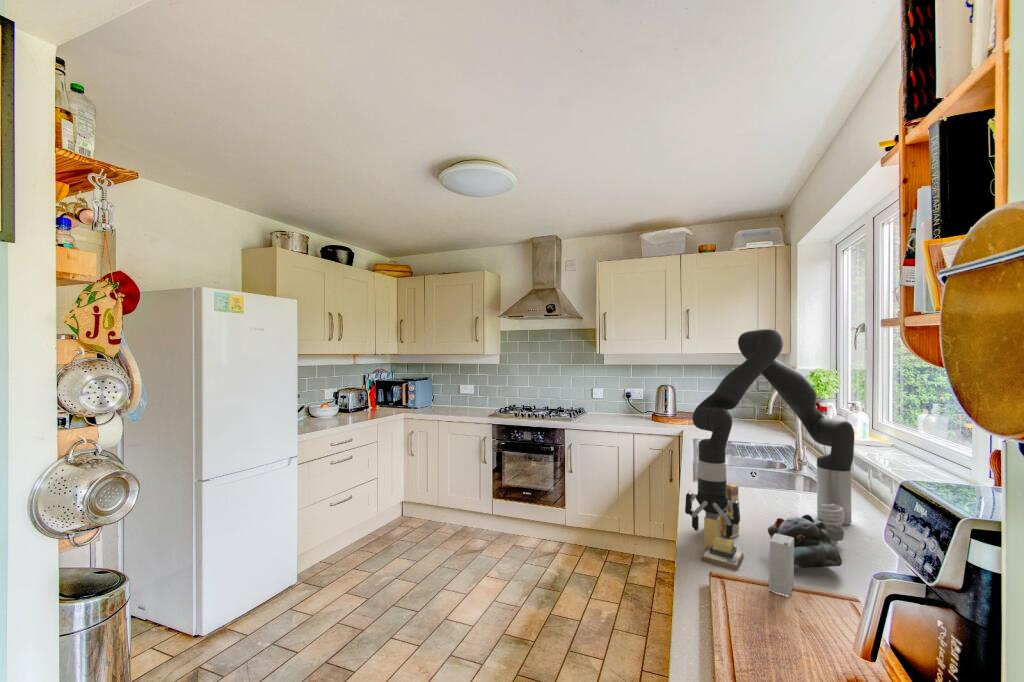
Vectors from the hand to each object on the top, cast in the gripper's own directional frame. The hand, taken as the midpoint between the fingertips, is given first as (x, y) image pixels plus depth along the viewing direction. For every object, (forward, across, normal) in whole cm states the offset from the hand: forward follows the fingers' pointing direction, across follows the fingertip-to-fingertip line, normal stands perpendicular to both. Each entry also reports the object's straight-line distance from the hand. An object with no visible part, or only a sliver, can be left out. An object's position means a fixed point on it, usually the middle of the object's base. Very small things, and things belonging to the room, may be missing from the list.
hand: (711, 533), depth 128 cm
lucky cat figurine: (+4, -22, -2) cm, 22 cm away
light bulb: (+4, -28, -21) cm, 35 cm away
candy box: (+4, 0, -12) cm, 13 cm away
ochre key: (+1, -4, +5) cm, 7 cm away
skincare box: (+4, -19, +15) cm, 24 cm away
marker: (+4, 0, 0) cm, 4 cm away
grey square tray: (+4, -4, +6) cm, 8 cm away
